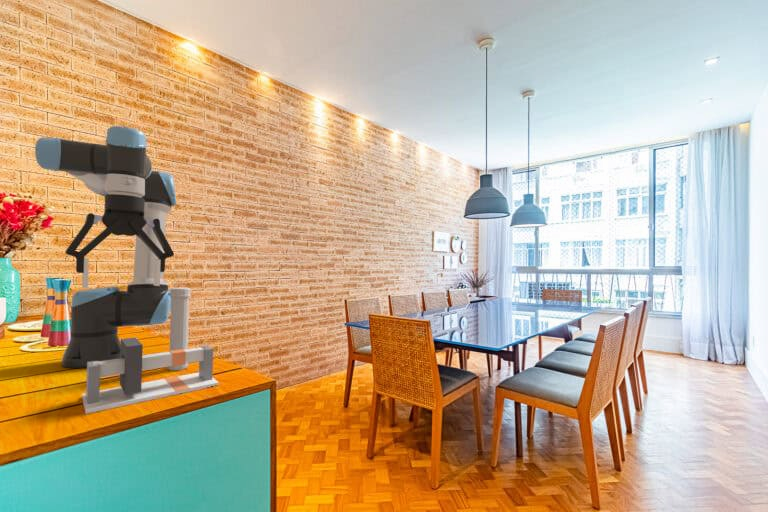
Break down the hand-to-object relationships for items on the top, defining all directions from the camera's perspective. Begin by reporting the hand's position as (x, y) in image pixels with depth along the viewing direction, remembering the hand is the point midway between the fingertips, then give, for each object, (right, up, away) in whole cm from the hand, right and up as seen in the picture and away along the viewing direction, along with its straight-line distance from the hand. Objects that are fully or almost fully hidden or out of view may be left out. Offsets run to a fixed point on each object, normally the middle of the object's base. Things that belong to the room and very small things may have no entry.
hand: (122, 286), depth 83 cm
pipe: (-2, -27, +25) cm, 37 cm away
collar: (0, -25, +3) cm, 25 cm away
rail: (+3, -27, +6) cm, 28 cm away
